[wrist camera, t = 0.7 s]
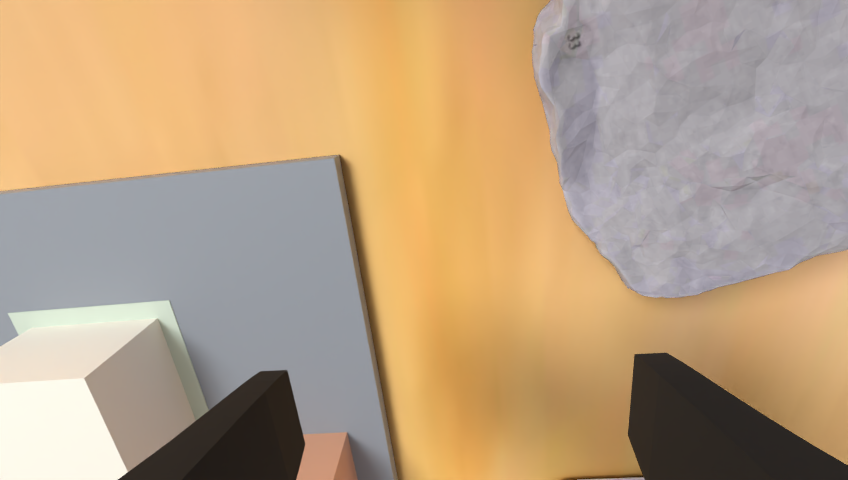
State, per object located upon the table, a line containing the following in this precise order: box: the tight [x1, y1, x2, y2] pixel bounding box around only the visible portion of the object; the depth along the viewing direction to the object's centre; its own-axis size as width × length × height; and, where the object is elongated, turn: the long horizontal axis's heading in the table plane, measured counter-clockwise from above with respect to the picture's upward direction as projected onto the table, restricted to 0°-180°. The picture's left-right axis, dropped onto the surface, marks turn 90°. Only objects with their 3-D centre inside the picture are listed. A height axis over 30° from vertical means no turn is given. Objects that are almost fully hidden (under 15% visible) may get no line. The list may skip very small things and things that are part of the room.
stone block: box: [532, 0, 848, 298], centre depth 14 cm, size 12×5×10 cm
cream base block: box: [0, 318, 196, 480], centre depth 18 cm, size 6×6×4 cm
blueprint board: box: [0, 155, 398, 480], centre depth 21 cm, size 24×20×1 cm
